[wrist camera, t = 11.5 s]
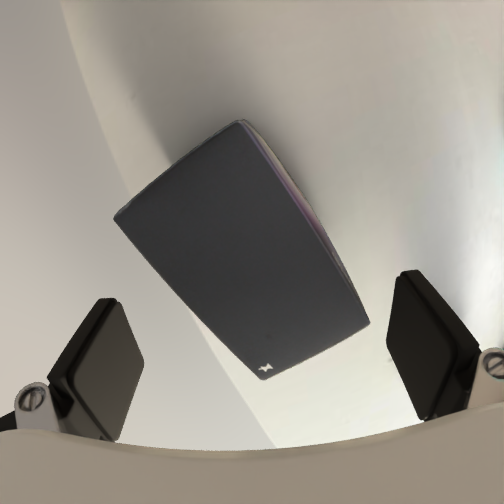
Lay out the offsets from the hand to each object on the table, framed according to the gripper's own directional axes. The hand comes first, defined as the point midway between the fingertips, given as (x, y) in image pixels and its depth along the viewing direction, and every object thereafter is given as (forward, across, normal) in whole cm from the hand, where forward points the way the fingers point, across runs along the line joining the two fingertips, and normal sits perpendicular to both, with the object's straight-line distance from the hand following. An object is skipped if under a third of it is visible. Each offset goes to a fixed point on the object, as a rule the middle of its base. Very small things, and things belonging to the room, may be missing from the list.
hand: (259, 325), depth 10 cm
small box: (+13, 0, 0) cm, 13 cm away
